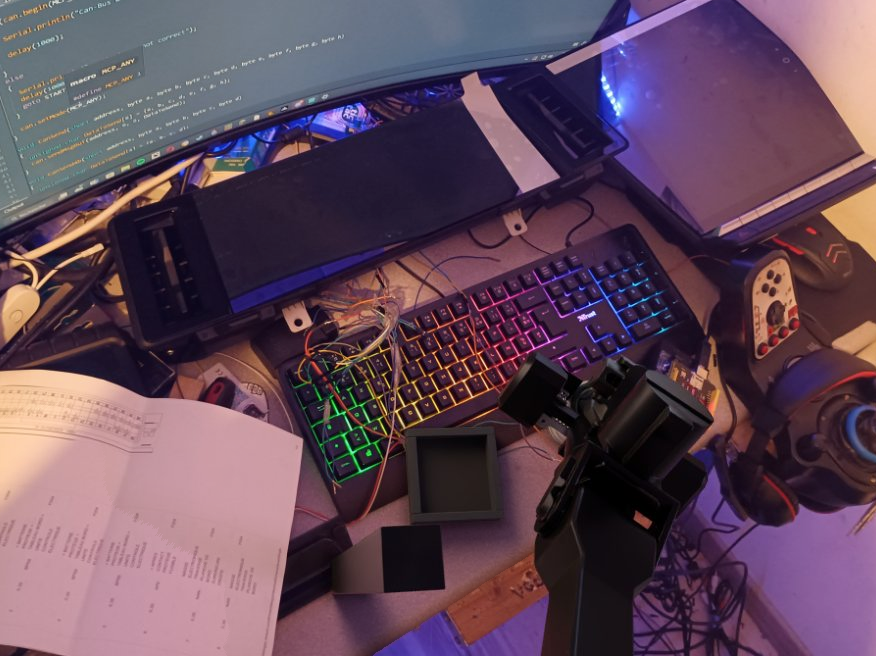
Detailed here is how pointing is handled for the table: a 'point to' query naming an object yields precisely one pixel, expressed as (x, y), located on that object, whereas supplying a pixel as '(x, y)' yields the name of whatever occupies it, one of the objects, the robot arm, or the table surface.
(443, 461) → the black square open tray
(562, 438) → the camera lens
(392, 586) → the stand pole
